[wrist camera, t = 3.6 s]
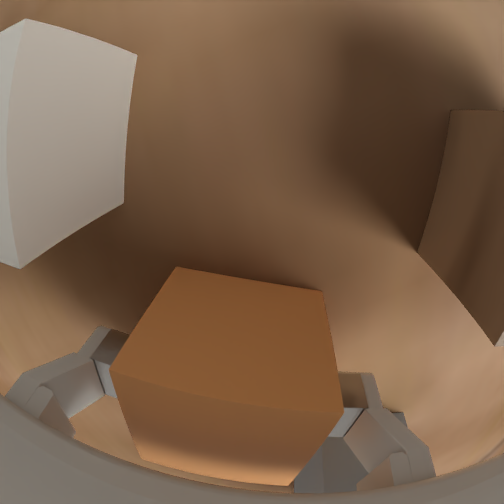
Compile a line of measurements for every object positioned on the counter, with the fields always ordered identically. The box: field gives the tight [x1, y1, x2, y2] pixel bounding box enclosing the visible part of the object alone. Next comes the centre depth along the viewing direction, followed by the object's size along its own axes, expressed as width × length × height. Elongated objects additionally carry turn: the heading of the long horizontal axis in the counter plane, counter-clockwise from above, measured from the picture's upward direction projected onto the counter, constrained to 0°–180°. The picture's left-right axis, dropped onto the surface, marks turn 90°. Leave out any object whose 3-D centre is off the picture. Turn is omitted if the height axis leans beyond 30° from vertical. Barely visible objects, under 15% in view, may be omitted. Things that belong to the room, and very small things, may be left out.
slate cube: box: [294, 413, 408, 493], centre depth 11 cm, size 5×5×5 cm
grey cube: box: [0, 19, 137, 269], centre depth 6 cm, size 5×5×5 cm
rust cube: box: [109, 267, 344, 486], centre depth 8 cm, size 5×5×5 cm
